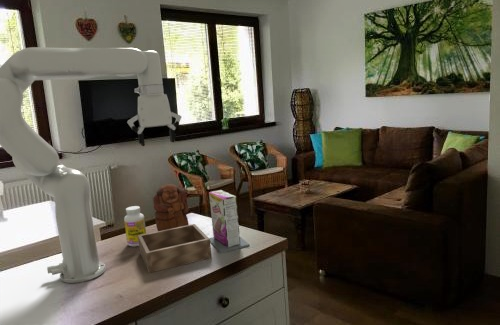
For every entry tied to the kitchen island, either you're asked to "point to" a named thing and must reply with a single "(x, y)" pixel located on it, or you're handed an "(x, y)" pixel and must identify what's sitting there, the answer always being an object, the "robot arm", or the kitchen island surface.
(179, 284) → the kitchen island surface
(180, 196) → the wooden figurine
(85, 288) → the kitchen island surface
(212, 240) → the grey mat
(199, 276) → the kitchen island surface
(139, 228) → the supplement bottle
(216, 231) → the candy bar box
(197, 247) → the open wooden crate
